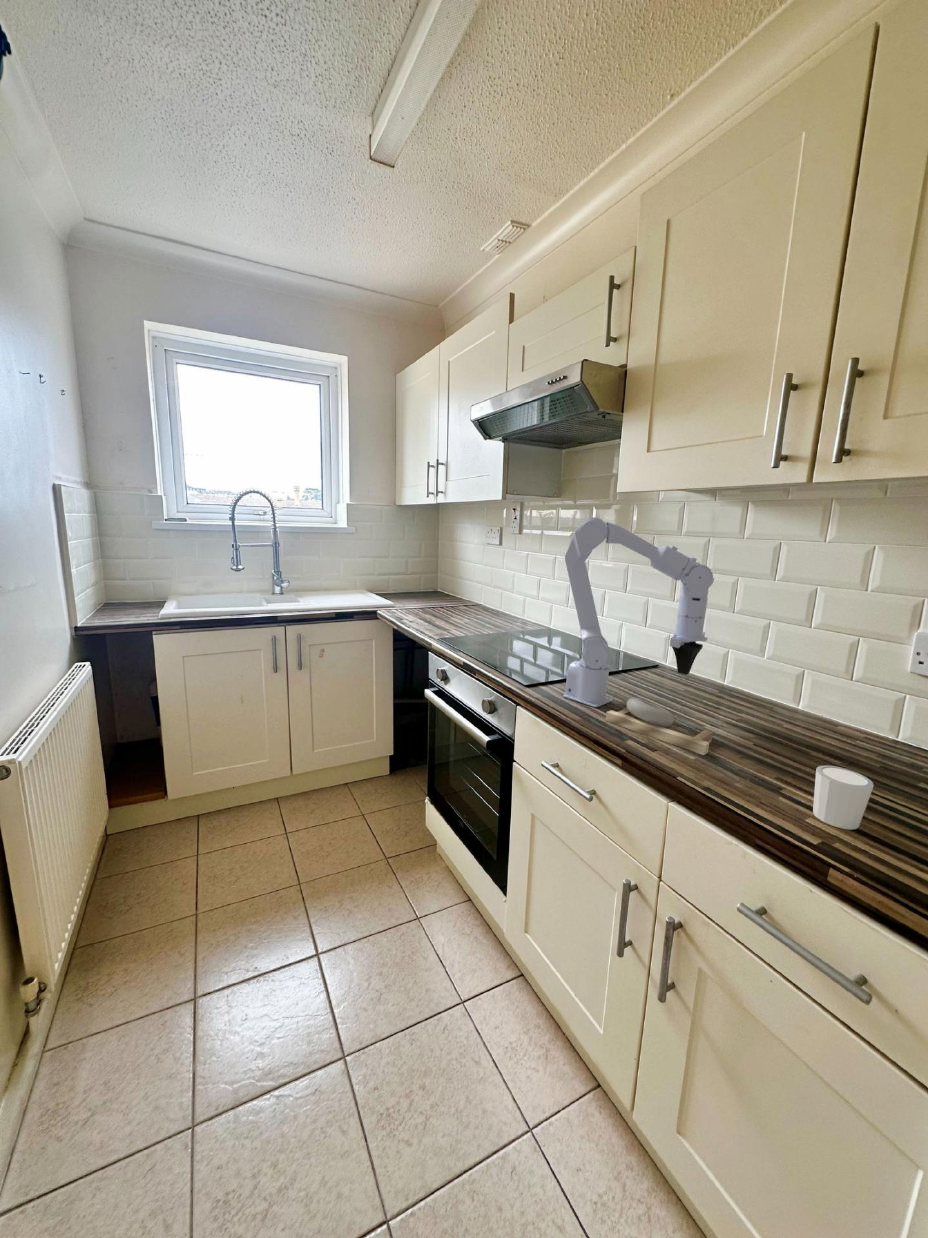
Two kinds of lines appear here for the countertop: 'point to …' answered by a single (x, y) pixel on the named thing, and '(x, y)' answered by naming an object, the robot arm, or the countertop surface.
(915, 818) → the countertop surface
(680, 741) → the drawer pull handle
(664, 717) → the white rubber ring
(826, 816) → the white cylinder
